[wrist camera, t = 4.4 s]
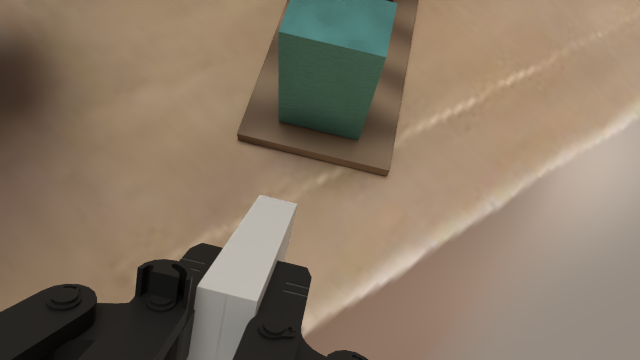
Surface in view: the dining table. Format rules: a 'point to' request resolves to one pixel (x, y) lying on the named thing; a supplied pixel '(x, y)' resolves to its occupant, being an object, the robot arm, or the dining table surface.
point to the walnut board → (358, 154)
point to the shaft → (332, 62)
